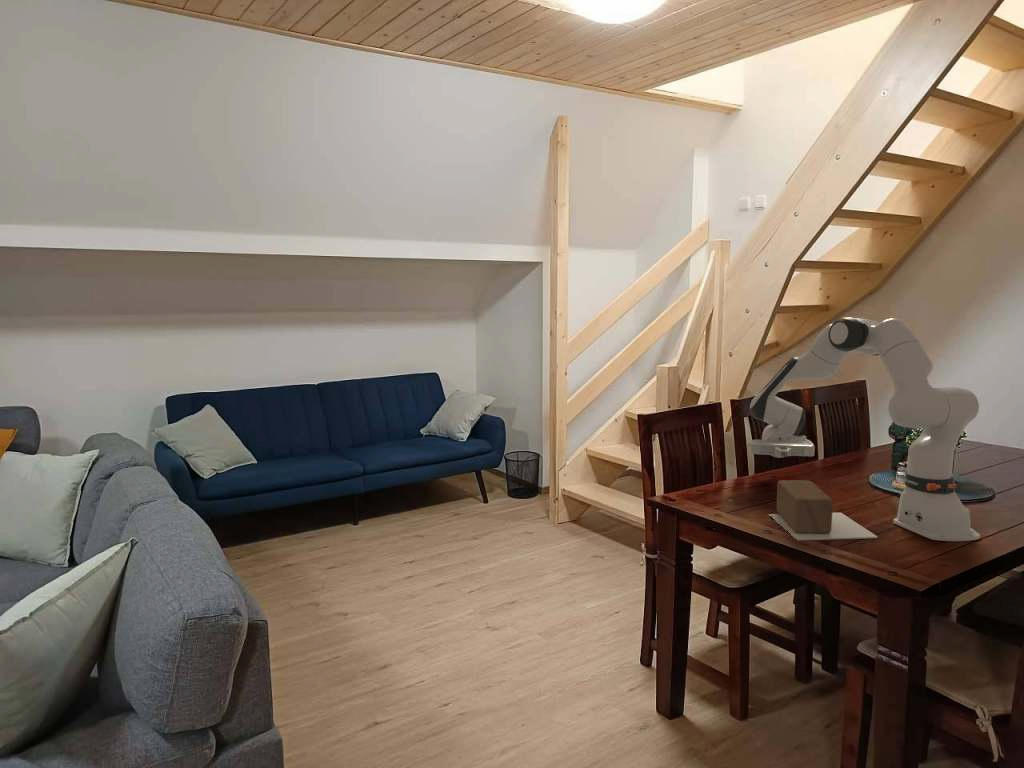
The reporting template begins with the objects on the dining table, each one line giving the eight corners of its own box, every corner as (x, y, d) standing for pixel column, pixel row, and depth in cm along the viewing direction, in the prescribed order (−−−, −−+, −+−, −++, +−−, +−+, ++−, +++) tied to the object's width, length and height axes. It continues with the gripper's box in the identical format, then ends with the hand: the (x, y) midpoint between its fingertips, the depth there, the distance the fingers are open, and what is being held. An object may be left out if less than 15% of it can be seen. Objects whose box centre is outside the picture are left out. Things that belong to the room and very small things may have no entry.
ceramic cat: (885, 467, 271) (888, 414, 268) (893, 464, 275) (896, 412, 272) (942, 478, 255) (946, 422, 253) (950, 475, 259) (954, 419, 256)
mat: (877, 538, 198) (877, 536, 198) (797, 540, 198) (797, 538, 197) (840, 513, 219) (840, 512, 219) (767, 515, 218) (767, 514, 218)
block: (811, 479, 219) (834, 499, 199) (809, 511, 220) (832, 534, 200) (776, 479, 220) (796, 498, 200) (775, 511, 221) (794, 534, 201)
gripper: (747, 433, 250) (750, 442, 237) (810, 435, 246) (818, 445, 232) (746, 451, 251) (749, 461, 238) (809, 454, 247) (817, 464, 233)
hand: (784, 453), depth 235 cm, fingers closed
